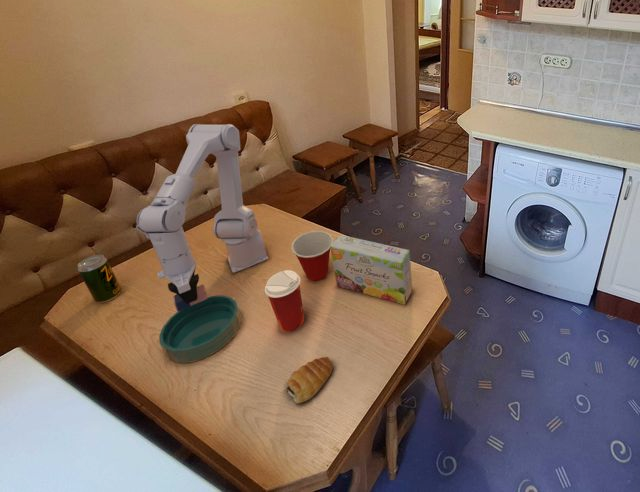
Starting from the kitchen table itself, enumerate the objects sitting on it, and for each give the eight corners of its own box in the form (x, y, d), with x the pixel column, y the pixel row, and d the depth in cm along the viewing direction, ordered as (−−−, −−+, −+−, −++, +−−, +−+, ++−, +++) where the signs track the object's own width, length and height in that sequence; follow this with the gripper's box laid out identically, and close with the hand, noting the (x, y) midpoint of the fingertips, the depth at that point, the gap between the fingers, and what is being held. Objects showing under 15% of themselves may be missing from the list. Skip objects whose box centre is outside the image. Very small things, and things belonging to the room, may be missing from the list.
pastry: (321, 355, 82) (319, 344, 80) (340, 372, 78) (338, 361, 77) (282, 390, 75) (279, 378, 73) (301, 410, 71) (298, 398, 70)
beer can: (92, 307, 92) (73, 271, 88) (97, 293, 97) (79, 258, 92) (120, 298, 95) (103, 263, 90) (123, 285, 99) (107, 251, 95)
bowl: (234, 298, 96) (230, 286, 94) (247, 337, 86) (243, 324, 84) (163, 330, 87) (157, 317, 85) (168, 378, 76) (161, 364, 75)
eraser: (206, 291, 89) (203, 283, 88) (207, 299, 87) (205, 291, 86) (176, 303, 86) (173, 295, 85) (177, 312, 84) (173, 303, 83)
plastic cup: (320, 293, 98) (313, 259, 93) (289, 282, 102) (282, 249, 97) (345, 267, 108) (340, 235, 103) (316, 257, 111) (310, 226, 106)
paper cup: (315, 314, 92) (306, 273, 86) (293, 340, 85) (282, 297, 80) (291, 306, 94) (281, 265, 89) (267, 330, 87) (255, 287, 82)
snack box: (335, 288, 100) (328, 245, 94) (346, 274, 105) (340, 232, 99) (404, 306, 95) (402, 262, 89) (413, 290, 100) (411, 248, 94)
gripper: (150, 242, 83) (168, 286, 89) (152, 278, 73) (172, 325, 79) (187, 230, 88) (202, 273, 93) (194, 263, 77) (210, 308, 83)
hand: (191, 296), depth 86 cm, fingers closed on eraser, 3 cm apart
